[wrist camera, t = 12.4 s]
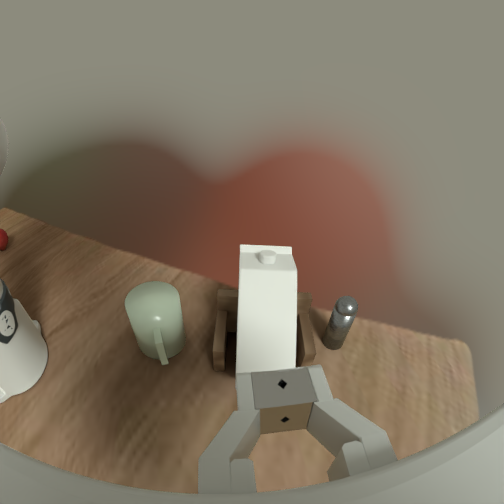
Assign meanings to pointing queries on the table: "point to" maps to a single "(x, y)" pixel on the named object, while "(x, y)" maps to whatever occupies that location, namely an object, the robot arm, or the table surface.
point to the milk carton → (266, 309)
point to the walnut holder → (228, 323)
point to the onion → (3, 239)
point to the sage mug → (156, 319)
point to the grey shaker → (340, 322)
